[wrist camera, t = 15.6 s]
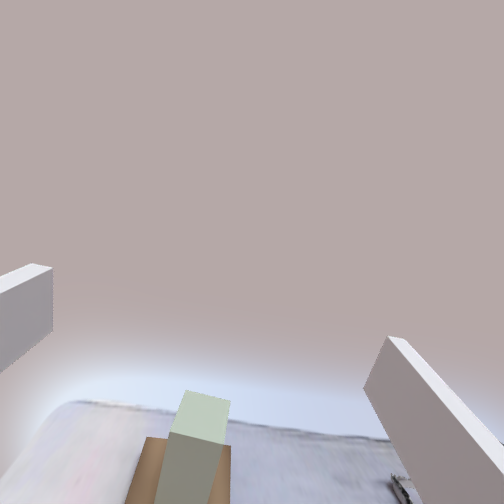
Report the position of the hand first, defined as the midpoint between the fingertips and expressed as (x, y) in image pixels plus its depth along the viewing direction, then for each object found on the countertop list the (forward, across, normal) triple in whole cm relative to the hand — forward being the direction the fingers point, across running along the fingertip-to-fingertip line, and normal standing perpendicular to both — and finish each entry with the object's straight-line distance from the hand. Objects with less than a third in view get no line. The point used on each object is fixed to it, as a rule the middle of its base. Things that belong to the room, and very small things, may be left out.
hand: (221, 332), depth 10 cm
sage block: (+10, 0, -28) cm, 30 cm away
